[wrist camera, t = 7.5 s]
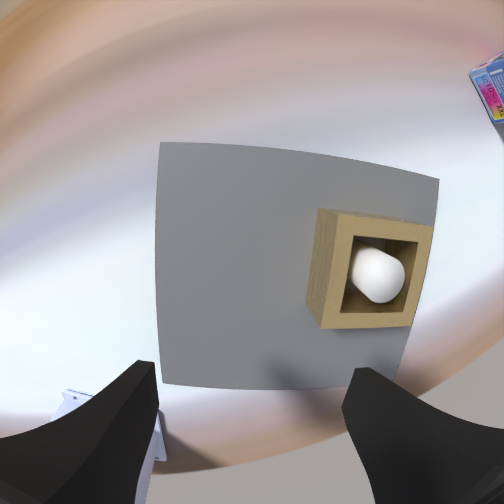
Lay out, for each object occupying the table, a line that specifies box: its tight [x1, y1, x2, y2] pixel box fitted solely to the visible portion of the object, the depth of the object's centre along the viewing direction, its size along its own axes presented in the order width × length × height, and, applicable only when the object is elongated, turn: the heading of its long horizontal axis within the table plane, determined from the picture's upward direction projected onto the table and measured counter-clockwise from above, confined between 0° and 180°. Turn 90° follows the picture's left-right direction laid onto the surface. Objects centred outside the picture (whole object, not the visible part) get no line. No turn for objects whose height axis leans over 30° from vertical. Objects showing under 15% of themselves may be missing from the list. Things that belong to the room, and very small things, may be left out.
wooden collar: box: [305, 207, 433, 329], centre depth 15 cm, size 6×6×4 cm
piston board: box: [155, 142, 439, 390], centre depth 16 cm, size 18×16×5 cm
